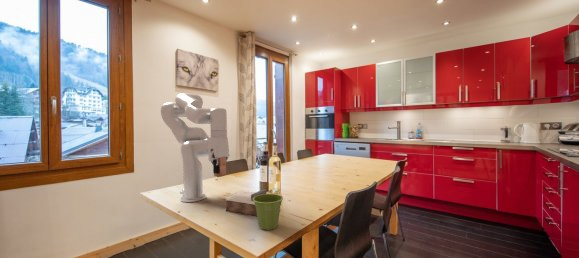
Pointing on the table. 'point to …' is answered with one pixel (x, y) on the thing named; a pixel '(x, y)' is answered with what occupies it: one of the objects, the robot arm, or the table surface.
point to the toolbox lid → (245, 196)
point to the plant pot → (268, 210)
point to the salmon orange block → (221, 167)
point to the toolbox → (241, 208)
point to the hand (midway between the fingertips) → (219, 171)
